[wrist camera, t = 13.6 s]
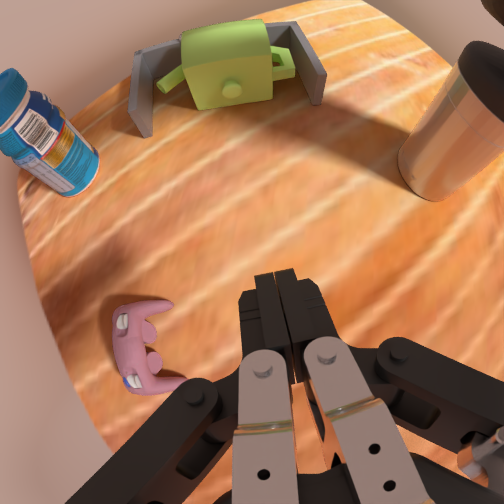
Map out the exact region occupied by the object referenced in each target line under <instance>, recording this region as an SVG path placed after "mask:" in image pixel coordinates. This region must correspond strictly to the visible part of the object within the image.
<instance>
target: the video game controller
mask: <svg viewBox="0 0 504 504" xmlns="http://www.w3.org/2000/svg"><path fill="white" fill-rule="evenodd" d="M173 306H174V304H173V302H171V301H168V300H145V301H139V302H134V303H129V304H125V305H122V306H120V307H118V308H116V309H115V311H114V313H113V316H112V324H113V329H112V343H113V351H114V356H115V360H116V363H117V366H118V369H119V371H120V374H121V376H122V378H123V383H124V385H125V387H126V389H127V390H128V391H129V392H131V393H133V394H138V395H158V394H163V393H167V392H171V391H174V390H175V389H176V388H177V387H178V386H179V385H180V384H181V383H183V382H184V381H186V380H189V379H187V378H184V377H157V376H156V374H157V373H158V372H159V371H160V370H161V368H162V366H163V361H162V358H161V356H160V355H159V354H158V353H157V352H146V349H145V345H144V344H145V343H153V342H154V341H155V340H156V337H157V332H156V328H155V327H154V326H153V325H152V324H151V323H149V322H147V321H145V318H147V317H149V316H151V315H154V314H158V313H162V312H165V311H167V310H170V309H171V308H172V307H173Z"/></svg>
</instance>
